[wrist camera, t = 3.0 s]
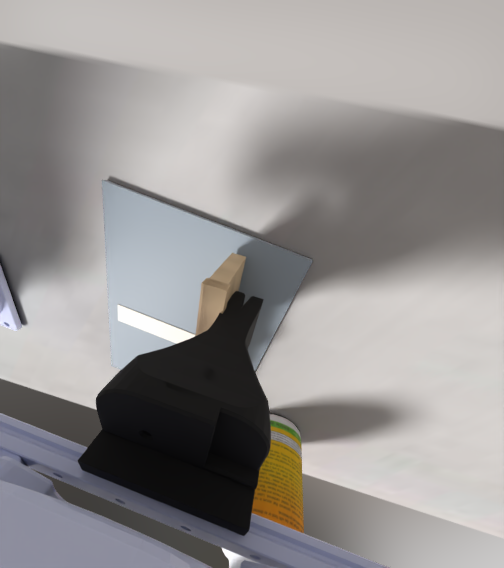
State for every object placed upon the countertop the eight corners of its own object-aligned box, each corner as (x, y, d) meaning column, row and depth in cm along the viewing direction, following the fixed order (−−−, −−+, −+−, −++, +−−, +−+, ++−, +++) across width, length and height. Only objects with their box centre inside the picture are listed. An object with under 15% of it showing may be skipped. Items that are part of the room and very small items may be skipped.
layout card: (114, 363, 18) (110, 366, 18) (106, 180, 11) (100, 179, 10) (233, 410, 18) (232, 414, 18) (312, 259, 11) (312, 261, 10)
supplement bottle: (249, 403, 17) (207, 615, 9) (309, 423, 17) (325, 662, 9) (238, 433, 20) (198, 620, 11) (290, 451, 20) (288, 656, 11)
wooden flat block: (227, 345, 14) (206, 397, 10) (214, 341, 14) (188, 391, 11) (248, 257, 11) (227, 291, 7) (230, 252, 11) (201, 283, 7)
